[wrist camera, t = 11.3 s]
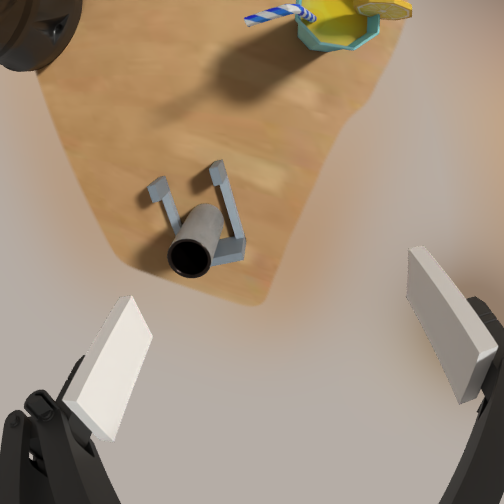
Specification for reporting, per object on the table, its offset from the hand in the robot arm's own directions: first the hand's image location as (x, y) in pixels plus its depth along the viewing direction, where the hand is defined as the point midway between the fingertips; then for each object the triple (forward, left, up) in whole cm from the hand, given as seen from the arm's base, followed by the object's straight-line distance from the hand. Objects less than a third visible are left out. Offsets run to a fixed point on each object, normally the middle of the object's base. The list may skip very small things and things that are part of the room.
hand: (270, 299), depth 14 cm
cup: (-15, +9, -26) cm, 31 cm away
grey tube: (+5, -9, -26) cm, 28 cm away
